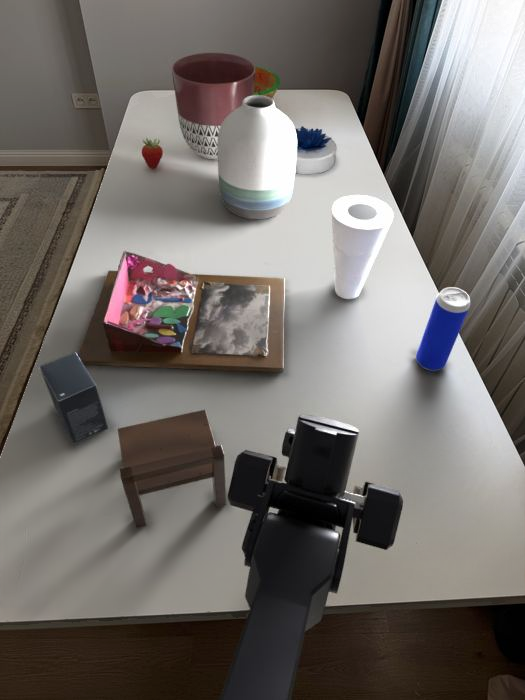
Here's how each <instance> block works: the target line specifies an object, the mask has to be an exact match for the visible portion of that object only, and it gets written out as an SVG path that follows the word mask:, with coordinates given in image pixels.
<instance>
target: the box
mask: <svg viewBox="0 0 525 700" xmlns="http://www.w3.org/2000/svg"><path fill="white" fill-rule="evenodd" d="M38 369H39V371H40V373H41V375H42V379H43V380H44V383H45V386H46V388H47V391H48V393H49V396H50V399H51V401H52V403H53V406H54V408H55V411H56V413H57V415H58V417H59V419H60V421H61V423H62V425H63V426H64V428H65V430H66V432H67V434H68V436H69V438H70V440H71V441H72V443H73V445H76V444H78V443H80V442H83V441H85V440H88V439H89V438H92V437H94V436H96V435H98V434H100V433H102V432H104V431H107V430H108V429H109V425H108V421H107V418H106V415H105V410H104V407H103V404H102V401H101V397H100V393H99V390H98V386H97V384H96V382H95V381H94V379H93V377H92V375H91V374H90V373H89V371H88V369H87V368H86V365H83V363H82V361H81V360H80V358H79V357H78V352H76V351H74V352H72V353H69V354H66V355H64V356H62V357H59V358H57V359H54V360H53V361H49V362H47V363H44V364H42V365H39V367H38Z"/></svg>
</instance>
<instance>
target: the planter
mask: <svg viewBox="0 0 525 700" xmlns="http://www.w3.org/2000/svg"><path fill="white" fill-rule="evenodd" d="M171 73H172V74H171V75H172V83H173V88H174V95H175V105H176V111H177V117H178V123H179V128H180V131H181V134H182V137H183V139H184V140H185V143H186V144H187V145H188V146H189V148H190V149H191V150H192V151H193V152H195V153H196V154H197V155H199V156H200V157H202V158H204V159H205V158H206V159H209V160H217V161H218V133H219V130H220V127H221V124H222V122H223V121H224V119H225V118H226V117H227V116H228V115H229V114H230V113H231V112H233V111H234V110H236V109H237V108H239V107H241V106H242V102H243V100H244V99H245V98H246V97H248V96H253V95H254V85H255V64H254V63H253V62H252V61H251V60H249V59H247V58H246V57H242V56H239V55H235V54H232V53H225V52H201V53H195V54H194V53H193V54H189V55H187V56H183V57H181V58H179V59H178V60H176V61H175V62H173V65H172V66H171Z"/></svg>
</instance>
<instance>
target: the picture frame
mask: <svg viewBox="0 0 525 700" xmlns="http://www.w3.org/2000/svg"><path fill="white" fill-rule="evenodd" d="M147 267H149V268H152V269H151V271H145V270H144V269H145V268H147ZM285 286H286V278H285V277H265V276H245V275H244V276H243V275H241V276H240V275H220V274H197V273H189V272H187V271H184V270H181V269H179V268H176V266H175V265H173V264H171V263H167V264H166V263H162V262H160V261H158V260H154V259H152V258H149V257H146V256H142V255H139V254H137V253H134V252H130V251H127V250H123V252H122V255H121V257H120V260H119V264H118V268H117V270H108V271H107V274H106V277H105V280H104V282H103V285H102V288H101V290H100V293H99V296H98V299H97V302H96V303H95V307H94V310H93V312H92V315H91V318H90V320H89V322H88V325H87V328H86V331H85V334H84V335H83V339H82V341H81V344H80V347H79V349H78V351H77V355H78V357H79V358H80V360H81V361H82V363H83V365H84V366H106V367H107V366H108V367H132V368H133V367H134V368H135V367H136V368H157V369H158V368H159V369H161V368H162V369H187V370H212V371H236V372H240V371H241V372H259V373H260V372H262V373H284V359H285V356H284V355H285V354H284V352H285V350H284V347H285V346H284V345H285V297H286V296H285V294H286V293H285V290H286V289H285V288H286V287H285Z"/></svg>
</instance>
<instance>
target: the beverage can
mask: <svg viewBox="0 0 525 700" xmlns="http://www.w3.org/2000/svg"><path fill="white" fill-rule="evenodd" d="M470 307H471V299H470V296H469V294H468V293H467V292H466V291H465V290H463V289H461V288H459V287H455V286H454V287H453V286H448V287H445V288H442V289H441V290H440V291H439V293H437V295H436V298H435V300H434V303H433V306H432V309H431V312H430V315H429V318H428V320H427V324H426V326H425V329H424V332H423V334H422V338H421V340H420V343H419V346H418V349H417V352H416V355H415V358H416V361H417V363H418V364H419V366H420V367H421V368H423V369H425V370H427V371H430V372H431V371H434V372H435V371H440V370H442V369H444V368H445V366H446V365H447V363H448V360H449V357H450V355H451V353H452V351H453V348H454V345H455V343H456V341H457V339H458V336H459V334H460V331H461V329H462V327H463V324H464V321H465V320H466V317H467V314H468V313H469V309H470Z"/></svg>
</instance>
